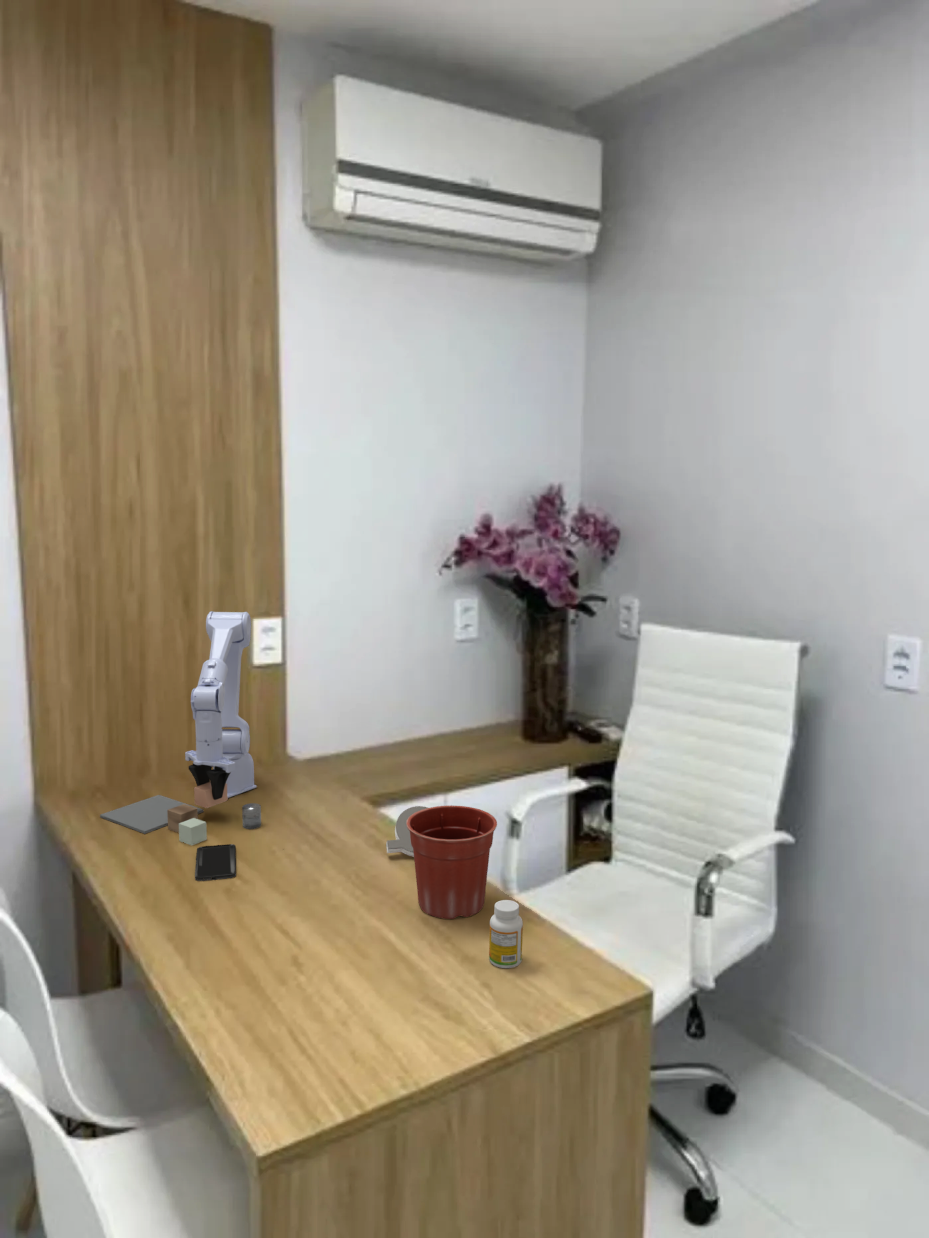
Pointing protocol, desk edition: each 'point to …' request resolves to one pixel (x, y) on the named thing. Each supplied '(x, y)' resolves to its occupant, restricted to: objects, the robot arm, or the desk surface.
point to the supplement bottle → (505, 935)
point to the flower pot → (451, 858)
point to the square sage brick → (192, 831)
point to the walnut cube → (180, 816)
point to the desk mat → (144, 814)
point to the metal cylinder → (251, 816)
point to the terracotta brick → (207, 795)
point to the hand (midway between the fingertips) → (211, 796)
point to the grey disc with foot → (403, 833)
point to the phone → (215, 862)
